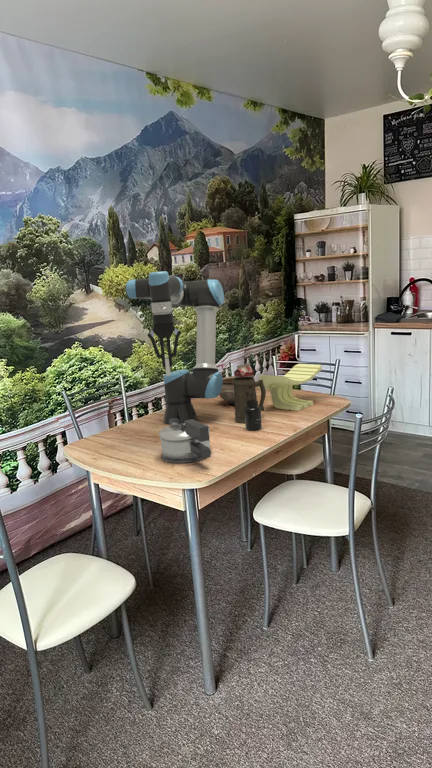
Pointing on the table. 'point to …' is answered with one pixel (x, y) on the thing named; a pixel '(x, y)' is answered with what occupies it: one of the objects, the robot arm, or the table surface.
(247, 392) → the beer stein
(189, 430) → the lid
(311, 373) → the slatted curved stool
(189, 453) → the pot
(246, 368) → the juice carton
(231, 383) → the cooking pot
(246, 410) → the supplement bottle
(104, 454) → the table surface
